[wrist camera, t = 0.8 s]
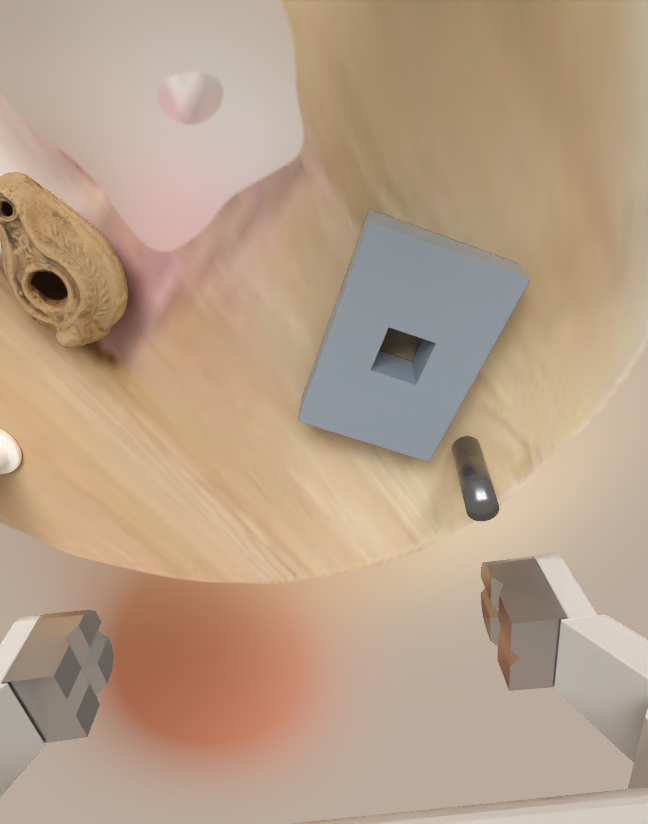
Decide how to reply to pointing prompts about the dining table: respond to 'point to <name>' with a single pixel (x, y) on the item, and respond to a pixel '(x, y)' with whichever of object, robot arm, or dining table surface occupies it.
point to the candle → (9, 453)
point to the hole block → (413, 314)
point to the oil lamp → (59, 264)
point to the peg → (474, 480)
